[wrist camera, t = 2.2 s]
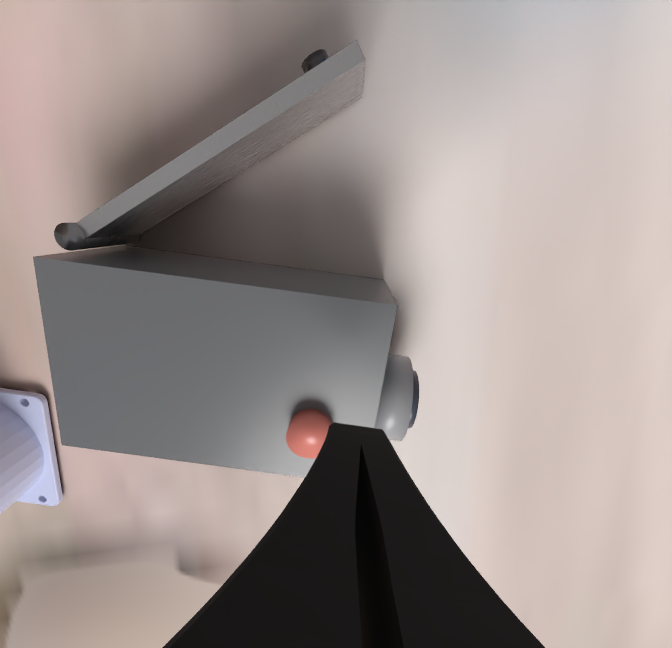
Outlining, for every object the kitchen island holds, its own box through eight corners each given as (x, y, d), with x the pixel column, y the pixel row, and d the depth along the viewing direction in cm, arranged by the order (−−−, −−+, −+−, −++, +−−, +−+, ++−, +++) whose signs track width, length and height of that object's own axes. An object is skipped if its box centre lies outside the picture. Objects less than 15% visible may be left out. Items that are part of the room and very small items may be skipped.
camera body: (134, 391, 19) (48, 460, 14) (124, 245, 17) (14, 259, 11) (391, 425, 19) (407, 508, 14) (420, 284, 17) (454, 317, 11)
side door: (129, 246, 16) (66, 255, 13) (108, 216, 16) (37, 216, 12) (363, 103, 14) (368, 63, 10) (346, 63, 14) (344, 8, 10)
